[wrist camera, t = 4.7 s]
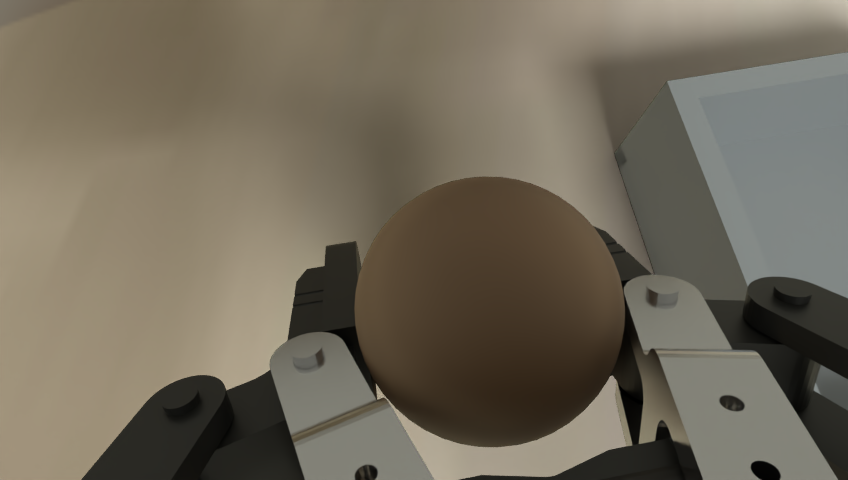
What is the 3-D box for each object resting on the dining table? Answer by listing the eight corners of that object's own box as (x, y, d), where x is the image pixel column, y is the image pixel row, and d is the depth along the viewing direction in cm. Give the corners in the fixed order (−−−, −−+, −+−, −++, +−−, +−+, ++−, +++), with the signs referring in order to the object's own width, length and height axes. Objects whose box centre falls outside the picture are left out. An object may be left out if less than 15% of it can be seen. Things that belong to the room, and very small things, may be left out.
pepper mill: (392, 445, 15) (362, 491, 6) (371, 300, 17) (319, 147, 7) (536, 417, 16) (729, 419, 6) (504, 277, 17) (621, 105, 8)
